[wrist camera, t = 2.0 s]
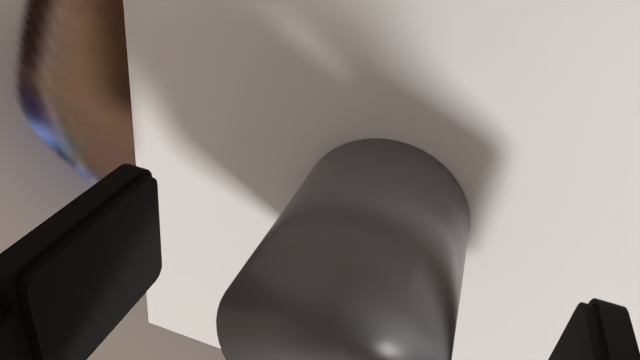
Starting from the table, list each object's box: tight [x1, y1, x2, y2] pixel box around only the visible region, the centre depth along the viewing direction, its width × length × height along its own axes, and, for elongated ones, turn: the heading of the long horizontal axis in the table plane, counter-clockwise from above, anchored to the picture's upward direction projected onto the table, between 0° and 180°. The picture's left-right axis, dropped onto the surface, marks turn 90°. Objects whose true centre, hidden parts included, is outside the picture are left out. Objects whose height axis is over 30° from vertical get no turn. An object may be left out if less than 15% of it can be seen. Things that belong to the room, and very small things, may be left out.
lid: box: [123, 0, 640, 360], centre depth 12 cm, size 15×15×6 cm
